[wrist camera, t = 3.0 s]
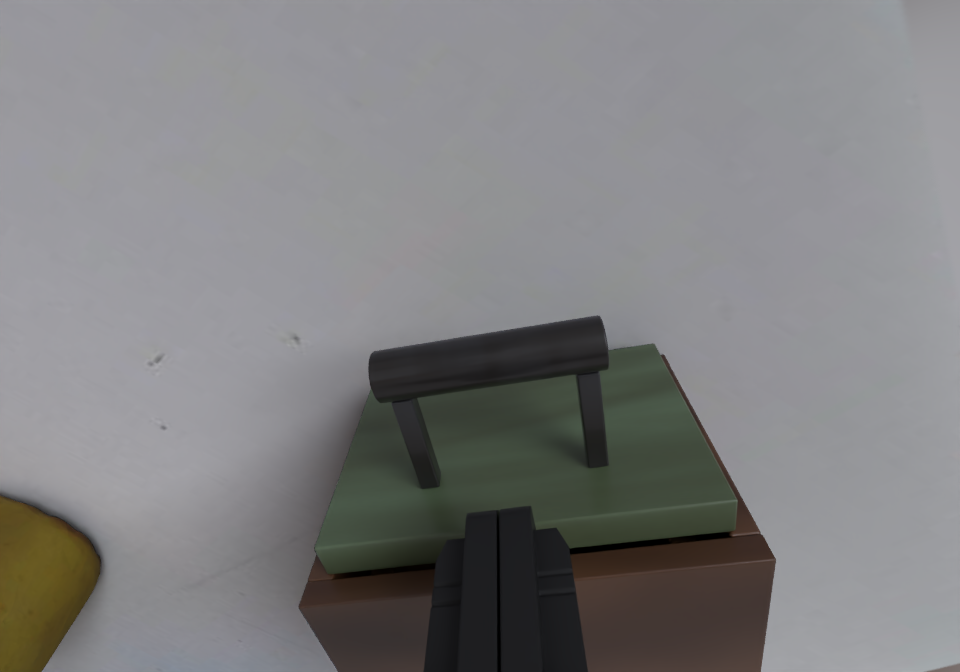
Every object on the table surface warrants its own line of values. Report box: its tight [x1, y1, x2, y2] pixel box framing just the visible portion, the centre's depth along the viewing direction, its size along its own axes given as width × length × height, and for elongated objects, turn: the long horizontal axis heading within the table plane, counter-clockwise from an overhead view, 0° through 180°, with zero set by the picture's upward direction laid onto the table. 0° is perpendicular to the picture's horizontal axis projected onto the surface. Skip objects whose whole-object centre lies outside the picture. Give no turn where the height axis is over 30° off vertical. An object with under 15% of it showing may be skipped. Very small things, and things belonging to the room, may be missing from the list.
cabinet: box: [299, 355, 776, 672], centre depth 21 cm, size 15×13×10 cm
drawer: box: [314, 315, 738, 575], centre depth 19 cm, size 18×11×8 cm, turn 11°
